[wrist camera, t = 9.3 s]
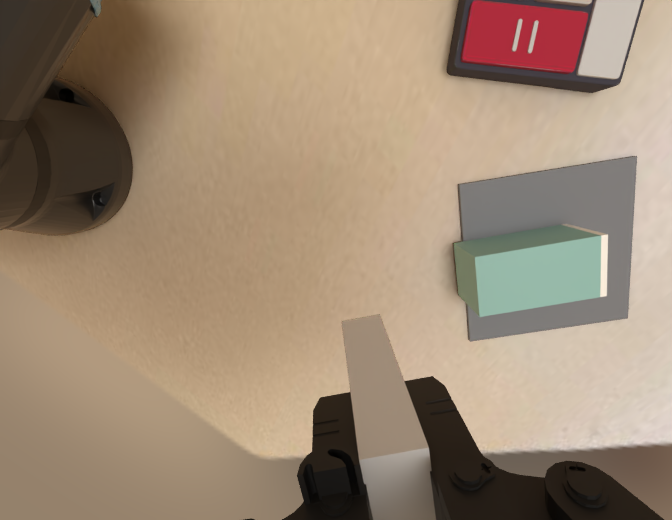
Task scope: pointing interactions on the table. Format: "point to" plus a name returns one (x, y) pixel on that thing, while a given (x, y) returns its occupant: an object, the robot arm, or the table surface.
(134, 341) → the table surface
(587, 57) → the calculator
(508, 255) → the block
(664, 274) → the table surface
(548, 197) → the mat
